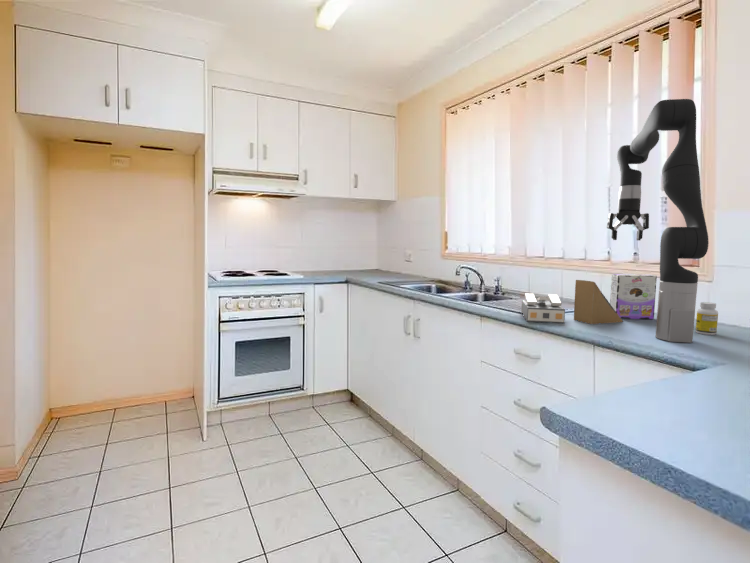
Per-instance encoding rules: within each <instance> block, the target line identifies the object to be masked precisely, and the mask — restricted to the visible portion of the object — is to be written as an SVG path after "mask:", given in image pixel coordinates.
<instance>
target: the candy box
mask: <svg viewBox="0 0 750 563" xmlns="http://www.w3.org/2000/svg"><path fill="white" fill-rule="evenodd" d="M610 287H611V288H610V301H609V303H610V304H611V306H612V307H613V309H614V310H615V311H616V313H617V314H618V315H619V317H620V318H621V319H622V320H623V319H624V320H625V319H627V320H628V319H632V320H635V319H636V320H654V318H655V306H656V305H655V304H656V292H657V290H656V289H657V275H654V274H646V273H645V274H642V273H641V274H639V273H635V274H634V273H612V274H611V285H610Z"/></svg>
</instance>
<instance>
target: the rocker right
mask: <svg viewBox="0 0 750 563" xmlns="http://www.w3.org/2000/svg"><path fill="white" fill-rule="evenodd" d="M547 297H549V302H550V303H551V305H552V306H562V303H563V302H562V301H561V298H560V297H559V296H558V294H552V293H551V294H550V293H548V294H547Z"/></svg>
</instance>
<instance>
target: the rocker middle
mask: <svg viewBox="0 0 750 563" xmlns="http://www.w3.org/2000/svg"><path fill="white" fill-rule="evenodd" d="M535 298H536V297H535ZM536 301H537V302H546V301H549V297H548V296H539V297H537V298H536ZM549 302H550V301H549Z"/></svg>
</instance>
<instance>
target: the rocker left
mask: <svg viewBox="0 0 750 563" xmlns="http://www.w3.org/2000/svg"><path fill="white" fill-rule="evenodd" d="M524 298H525V301H526V302H527V305H537V301H536V296H535V294H534V293H524Z"/></svg>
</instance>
